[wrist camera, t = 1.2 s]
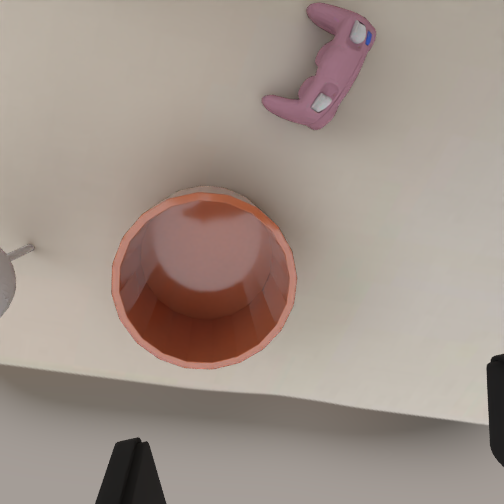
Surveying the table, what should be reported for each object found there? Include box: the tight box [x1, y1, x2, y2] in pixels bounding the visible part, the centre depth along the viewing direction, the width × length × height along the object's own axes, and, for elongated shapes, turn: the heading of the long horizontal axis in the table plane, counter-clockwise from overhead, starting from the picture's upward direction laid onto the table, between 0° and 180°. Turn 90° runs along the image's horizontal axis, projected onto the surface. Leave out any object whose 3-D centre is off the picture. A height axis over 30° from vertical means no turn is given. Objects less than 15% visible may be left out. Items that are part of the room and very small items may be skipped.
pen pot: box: [111, 186, 297, 369], centre depth 34 cm, size 14×14×10 cm
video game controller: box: [262, 3, 376, 130], centre depth 33 cm, size 10×5×7 cm, turn 153°
